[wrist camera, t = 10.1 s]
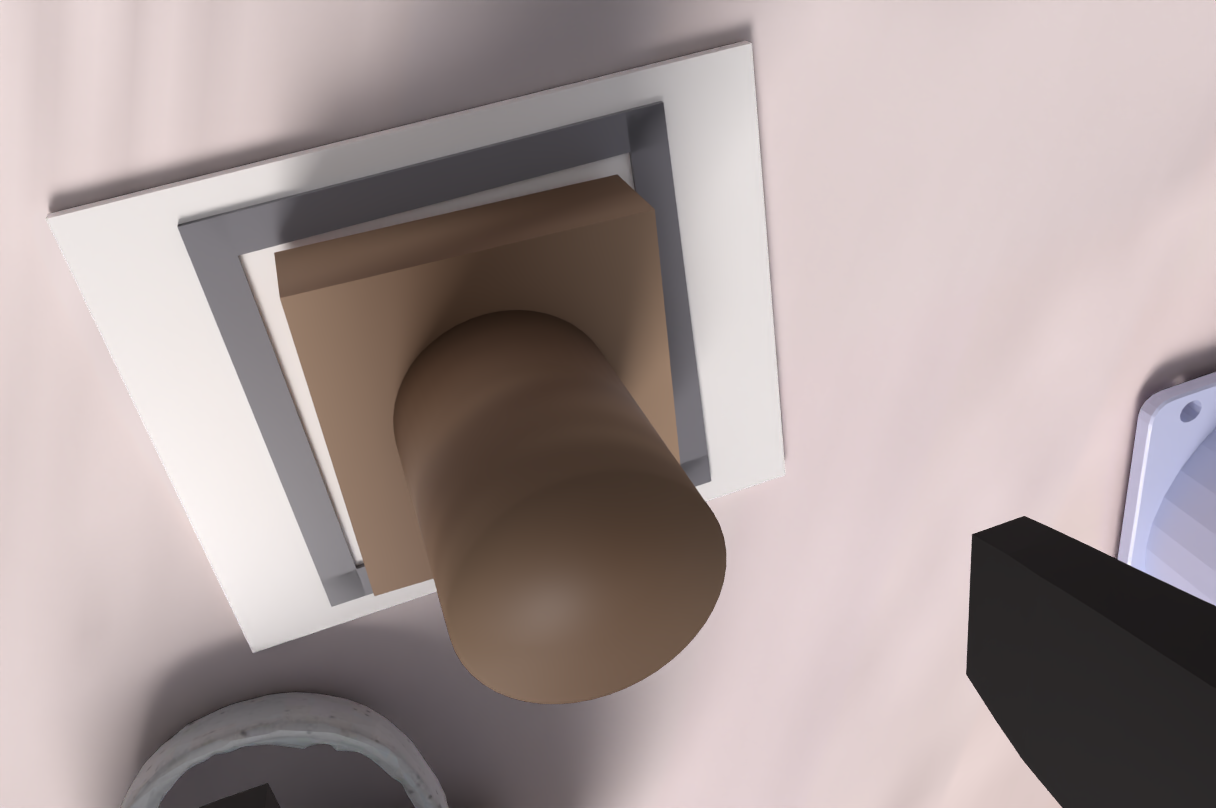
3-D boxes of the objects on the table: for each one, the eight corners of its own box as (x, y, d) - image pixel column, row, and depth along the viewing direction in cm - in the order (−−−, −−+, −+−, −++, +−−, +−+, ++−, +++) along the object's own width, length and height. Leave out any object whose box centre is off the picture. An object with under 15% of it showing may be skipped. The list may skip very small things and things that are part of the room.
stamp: (610, 168, 16) (793, 338, 11) (644, 443, 18) (802, 681, 13) (272, 245, 15) (301, 472, 10) (360, 523, 17) (416, 814, 12)
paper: (746, 41, 16) (755, 44, 15) (781, 469, 20) (788, 478, 20) (47, 213, 14) (44, 221, 13) (252, 645, 18) (252, 656, 18)
